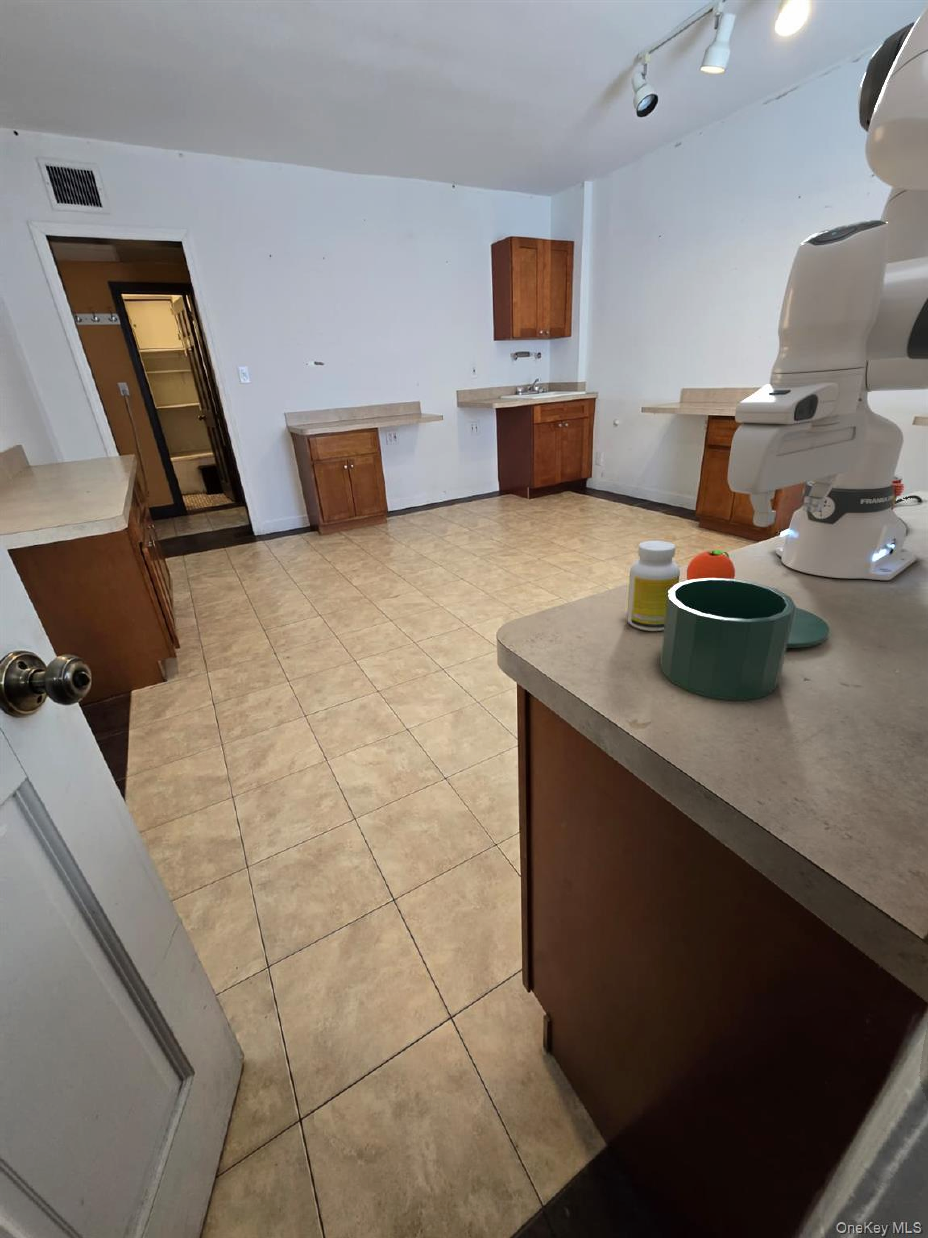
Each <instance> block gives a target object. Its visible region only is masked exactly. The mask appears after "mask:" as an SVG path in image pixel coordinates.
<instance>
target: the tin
mask: <svg viewBox="0 0 928 1238" xmlns="http://www.w3.org/2000/svg"><path fill="white" fill-rule="evenodd" d="M795 607H796V604H795V602H794V600H793V599H792V597H791V596H790V595H788V594H786V593H784V592H782V591H780V590H779V589H777V588H774V587H771V586H768V585H765V584H761V583H758V582H754V581H748V580H743V579H736V578H734V579H724V578H704V579H692V580H685V581H681V582H679V583H678V584H675V585H674V586H673V587H672V588H671V589H669V590H668V594H667V603H666V612H665V622H664V630H662V632H663V633H662V641H661V651H660V663H659V664H660V670H661V672H662V674H663V675H664V676H665V678H666V679H667V680H668V681H670V682H671V683H672V684H674V685H676V686H677V687H679V688H681V689H683V690H685V691H687V692H689V693H693V694H695V695H698V696H702V697H706V698H709V699H714V700H721V701H737V702H739V701H750V700H756V699H760V698H763V697H765V696H768V695H769V694H771V693H772V692H773V691H774V690H775V689H776V688H777V686H778V682H779V681H780V678H781V674H782V670H783V665H784V661H785V656H786V652H787V648H786V647H787V643H788V638H789V634H790V629H791V625H792V621H793V616H794V612H795ZM796 608H797V607H796Z"/></svg>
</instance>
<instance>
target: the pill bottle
mask: <svg viewBox="0 0 928 1238" xmlns="http://www.w3.org/2000/svg"><path fill="white" fill-rule="evenodd" d="M675 554H676V545H675V544H674V543H672V542H669V541H665V540H647V541H646V540H645V541H642V542H640V543H639V544H638V549H637V555H638V557H639V559H637V560H636V561H634V562H633V563H632V565H631V566H630V569H629V582H628V600H627V613H626V619H627V622H628V623H629V624H630V625H631V626H632V627H634V628H636V629H639V630H642V631H649V632H659V631H664V622H665V612H666V603H667V594H668V590H669V589H671V588H672V587H673V586H674V585H675V584H678V583H680V574H681V569H680V566H679V565H678V563H676V562H675V561H674V560H673V558H674V557H675Z"/></svg>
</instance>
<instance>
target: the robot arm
mask: <svg viewBox="0 0 928 1238" xmlns="http://www.w3.org/2000/svg"><path fill="white" fill-rule="evenodd" d="M857 98H858V99H857V100H858V101H857V107H858V117H859V124H860V127H861V128H862V129H863V130H865V132H866V133H867V134H866V140H865V146H864V148H865V149H864V151H865V158H866V162H867V164H868V167H869V169H870V171H871V172H872V174H873V175H874V176H875V177H876V178H877V179H878V180H880V181H881V182H882V183H884V184H886V185H888V186H889V187H891V188H890V191H889V194H888V196H887V199H886V201H885V205H884V207H883V210H882V213H881V216H880V219H871V220H868V221H867V220H865V221H859V222H855V223H851V224H846V225H841V226H837V227H835V228H831V229H825V230H822V231H819V232H816V233H814V234H812V235H810V236H808V237H807V238H806V239H804V240H803V241H802V242H801V243H800V244H799V246H798V248H797V250H796V253H795V256H794V258H793V262H792V265H791V268H790V272H789V276H788V279H787V283H786V287H785V290H784V294H783V300H782V305H781V310H780V315H779V321H778V328H777V336H778V351H777V356H776V358H775V361H774V363H773V365H772V368H771V371H770V372H771V373H770V376H769V377H770V378H769V383H767V384H765V385H763V386H762V387H761V388H760V389H759V390H757V391H756V392H754V393H753V394H751V395H750V396H748V397H746V398H745V399H743V400H741V401H739V403H738V404H737V405H736V408H735V411H734V420H735V422H736V423H741V424H740V425H739V426H738V427H737V429H736V430H735V432H734V434H733V436H732V440H731V447H730V452H729V458H728V467H727V484H728V486H729V489H730V490H731V492H734V493H738V494H743V495H749V500H750V503H751V506H752V509H753V511H754V513H753V518H752V524H753V525H754V526H756V527H760V528H765V527H768V526H772V525H774V524H775V518H776V515H777V510H773V508H772V502H771V500H774V498H775V494H776V490H781V489H784V488H790V487H792V486H796V485H800V484H805V486H804V488H803V490H802V497H801V504H802V506H800V508H799V509H798V508H797V510H795V511H794V512H793V514H792V517H791V520H790V523H789V527H788V528H787V529H785V530H783V531H781V532H780V534H779V537H782V538H783V537H784V536H785V539H784V543H783V546H779V547H777V548H776V552H775V553H776V554H777V555H778V556H779V557H781V563H782V564H783V565H784V566H786V567H788V568H789V569H792V570H794V571H798V572H801V573H805V574H809V575H814V576H819V577H825V578H835V579H865V580H866V579H867V580H876V581H891V580H892V579H893V578H895V577H896V576H897V575H899V574H900V573H901V572H903V571H904V570H906V569H907V568H908V567H909V566H910V565H912V564H913V563H915V562H916V561H917V558H918V554H917V553H915V552H913V551H910V550H907V549H904V548H903V546H904V543H905V539H906V535H907V530H908V526H907V524H906V523H905V521H904V520H903V519H902V518H901V517H900V516H898V515H897V514H896V513H895V511H894V509H893V510H892V509H891V507H892V506H893V498H894V496H897V497H900V496H901V495H902V494H903V493H904V490H905V484H904V483H901V484H894V483H892V481H893V477H894V475H896V470H897V466H898V462H899V460H900V456H901V452H902V448H903V444H904V433H903V431H902V429H901V427H900V426H898V424H897V423H895V422H893V421H892V420H890V419H888V418H887V417H884V416H883V415H880V414H878V413H876V412H874V411H873V410H872V409H871V407H870V405H869V402H868V395H869V393H871V392H885V391H886V392H887V391H888V392H889V391H916V390H917V391H919V390H923V391H924V390H928V4H927V5H926V7H925V8H924V9H923V11H922V12H921V13H920V15H919V17H918V18H917V20H916V22H915V21H912V22H911V23H909V24H907V25H905V26H903V27H901V28H900V29H899V30H897V31H895V32H894V33H892V34H891V35H889V36H888V37H887V38H885V39H884V41H883V42H882V43H881V44H880V45H879V46H878V48H877V49H876V50H875V52H873V54H872V55H871V57H870V59H869V62H868V64H867V67H866V70H865V73H864V74H863V77H862V80H861V84H860V88H859V92H858V97H857ZM907 496H908V497H907ZM907 496H904V497H905V498H904V497H902V498H903V499H906V500H902V499H901V498H898V499H896V500H897V501H895V505H897V504H899V503H901V502H904V501H907V500H911V498H912V499H915V500H917V502H918V503H923V499H922V497H920V496H919V495H914V494H913V495H907ZM908 498H910V499H908Z"/></svg>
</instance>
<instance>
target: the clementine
mask: <svg viewBox="0 0 928 1238" xmlns="http://www.w3.org/2000/svg"><path fill="white" fill-rule="evenodd" d="M734 565H735V564H734V563H733V561H732V559H730V556H729V553H728V552H727V551H723V550H717V549H716V550H710V551H709V550H708V551H707V550H706V551H703V552H701V553H699V554H697V555H696V556H694V558H692V559H691V560H690V562H689V564H688V565H687V568H686V581H688V580H692V579H704V578H724V579H735V576H736V569H735V566H734Z"/></svg>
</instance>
